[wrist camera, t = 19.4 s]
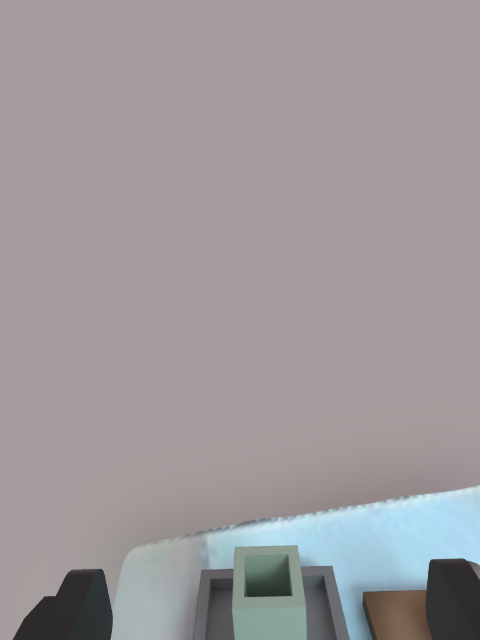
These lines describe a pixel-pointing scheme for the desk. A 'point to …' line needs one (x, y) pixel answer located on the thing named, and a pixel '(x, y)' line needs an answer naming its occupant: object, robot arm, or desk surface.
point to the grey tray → (320, 598)
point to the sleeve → (268, 594)
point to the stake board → (399, 613)
